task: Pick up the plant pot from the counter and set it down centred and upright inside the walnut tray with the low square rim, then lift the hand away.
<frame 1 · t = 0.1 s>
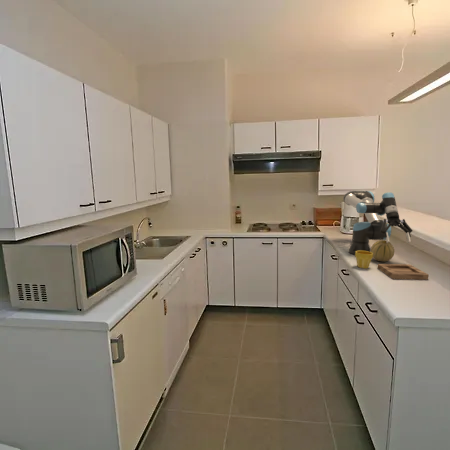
hand: (398, 242, 210), 15 cm above the table, tool tilted 35°, fingers open, 13 cm apart
plant pot: (362, 267, 207), on the table
walnut tray: (401, 273, 194), on the table
cantaloupe: (381, 261, 220), on the table
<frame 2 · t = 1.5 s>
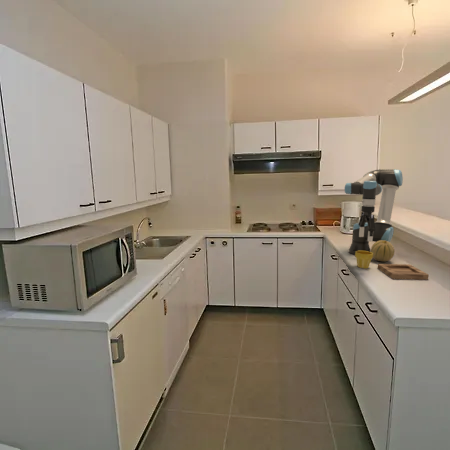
hand: (365, 239, 204), 18 cm above the table, tool pointing down, fingers open, 13 cm apart
nothing on the table moved.
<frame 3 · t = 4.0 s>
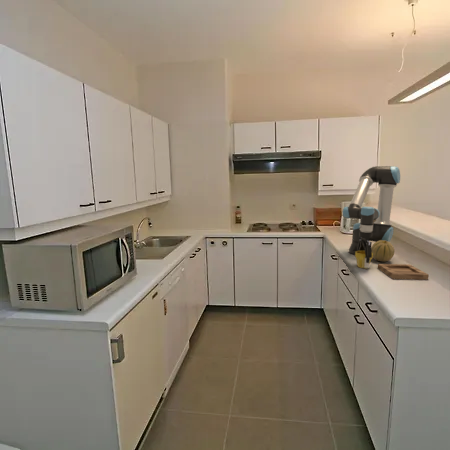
hand: (363, 265, 207), 1 cm above the table, tool pointing down, fingers closed on plant pot, 10 cm apart
plant pot: (363, 267, 207), on the table, touching gripper
everything else where it was.
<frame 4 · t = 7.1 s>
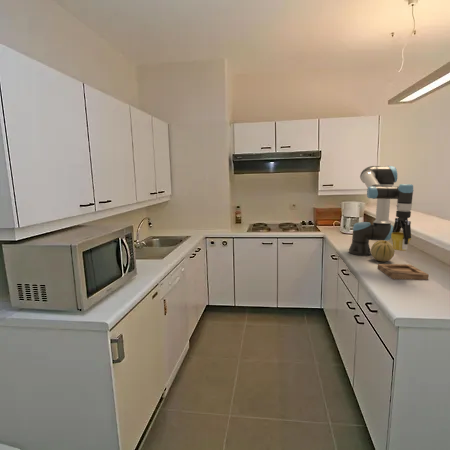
hand: (400, 247, 192), 16 cm above the table, tool pointing down, fingers closed on plant pot, 10 cm apart
plant pot: (399, 249, 192), point 15 cm above the table, touching gripper
everything else where it was.
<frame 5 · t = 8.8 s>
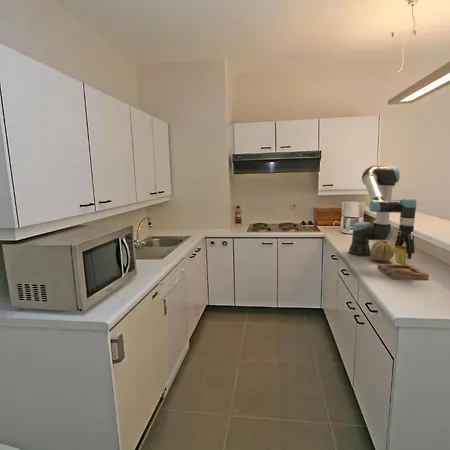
hand: (402, 261, 192), 8 cm above the table, tool pointing down, fingers closed on plant pot, 10 cm apart
plant pot: (402, 263, 192), point 6 cm above the table, touching gripper
everything else where it was.
when the fingers open (4 cm above the table, at t = 10.5 s): plant pot drops 1 cm, resting on walnut tray.
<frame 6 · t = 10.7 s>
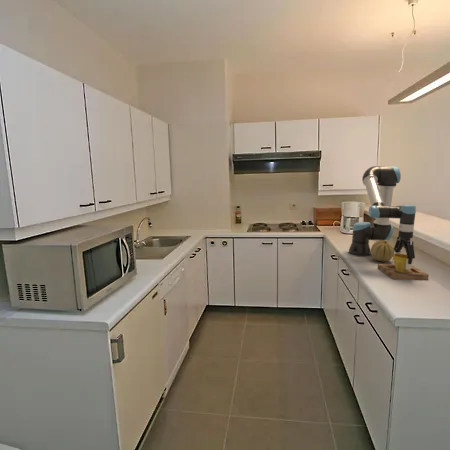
hand: (402, 265, 193), 5 cm above the table, tool pointing down, fingers open, 12 cm apart
plant pot: (401, 271, 194), point 1 cm above the table, touching walnut tray
everything else where it was.
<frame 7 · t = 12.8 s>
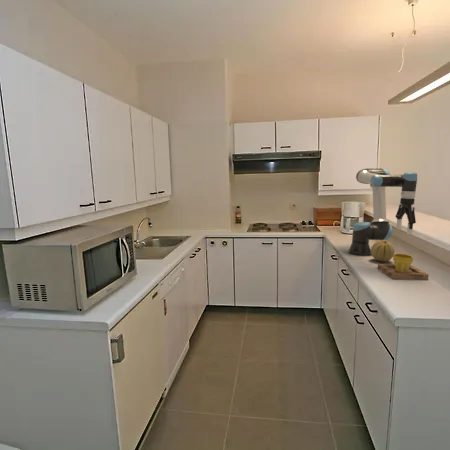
hand: (403, 231, 201), 24 cm above the table, tool pointing down, fingers open, 13 cm apart
nothing on the table moved.
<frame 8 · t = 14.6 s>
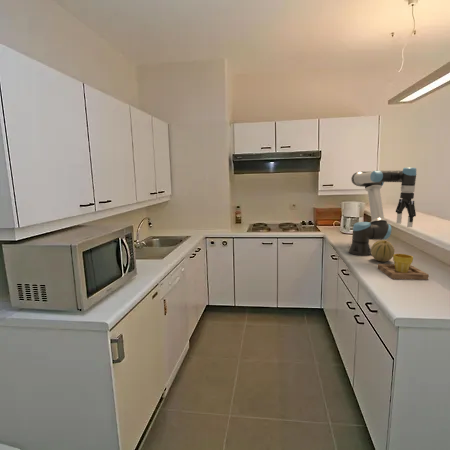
hand: (404, 225, 207), 27 cm above the table, tool pointing down, fingers open, 13 cm apart
nothing on the table moved.
at the end: plant pot 0.2 cm off-centre on the walnut tray, point 1.3 cm above the walnut tray's base; plant pot tilted 0°; the gripper is holding nothing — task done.
